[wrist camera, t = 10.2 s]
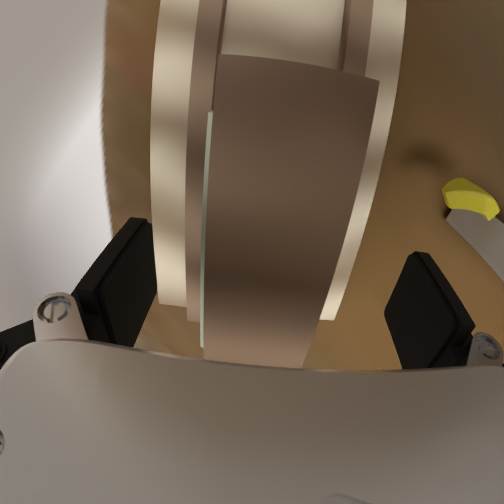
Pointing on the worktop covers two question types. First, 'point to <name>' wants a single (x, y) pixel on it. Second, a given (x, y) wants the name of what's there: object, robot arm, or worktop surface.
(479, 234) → the white and blue box
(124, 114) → the worktop surface
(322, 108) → the brown rectangular block
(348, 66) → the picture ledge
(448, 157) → the worktop surface
